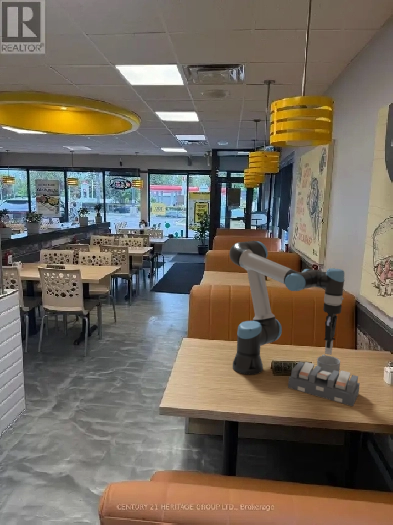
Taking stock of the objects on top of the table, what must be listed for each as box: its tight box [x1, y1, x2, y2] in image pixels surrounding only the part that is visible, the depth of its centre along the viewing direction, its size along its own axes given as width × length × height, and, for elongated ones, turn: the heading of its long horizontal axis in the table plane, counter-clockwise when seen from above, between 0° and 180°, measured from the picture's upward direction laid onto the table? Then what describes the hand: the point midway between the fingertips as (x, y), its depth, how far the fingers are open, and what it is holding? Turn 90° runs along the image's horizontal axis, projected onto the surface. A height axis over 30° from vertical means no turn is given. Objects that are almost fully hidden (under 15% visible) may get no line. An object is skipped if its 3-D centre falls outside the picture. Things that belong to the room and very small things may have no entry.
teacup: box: [316, 354, 341, 374], centre depth 190 cm, size 14×11×8 cm
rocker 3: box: [335, 370, 351, 390], centre depth 167 cm, size 4×10×2 cm, turn 148°
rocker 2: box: [317, 371, 331, 380], centre depth 171 cm, size 4×10×2 cm, turn 148°
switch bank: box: [287, 361, 360, 407], centre depth 172 cm, size 28×13×8 cm, turn 58°
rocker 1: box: [299, 361, 315, 380], centre depth 175 cm, size 4×10×2 cm, turn 148°
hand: (328, 353), depth 173 cm, fingers closed
